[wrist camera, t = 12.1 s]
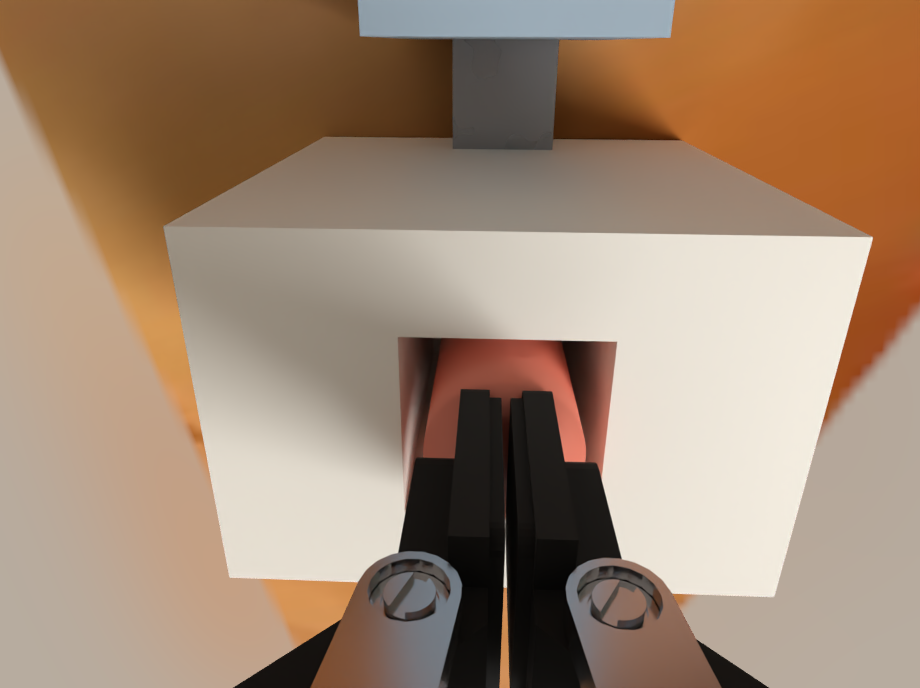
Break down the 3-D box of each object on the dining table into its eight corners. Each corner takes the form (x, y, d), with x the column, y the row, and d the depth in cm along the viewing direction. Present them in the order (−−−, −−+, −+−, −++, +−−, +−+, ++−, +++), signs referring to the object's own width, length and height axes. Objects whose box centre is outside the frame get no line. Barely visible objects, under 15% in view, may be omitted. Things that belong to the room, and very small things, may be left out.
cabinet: (312, 136, 22) (140, 226, 11) (681, 140, 22) (872, 237, 11) (331, 349, 26) (211, 576, 15) (651, 356, 25) (774, 597, 14)
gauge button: (446, 261, 18) (421, 381, 11) (556, 262, 18) (593, 385, 11) (446, 359, 19) (424, 517, 13) (549, 362, 19) (579, 522, 13)
